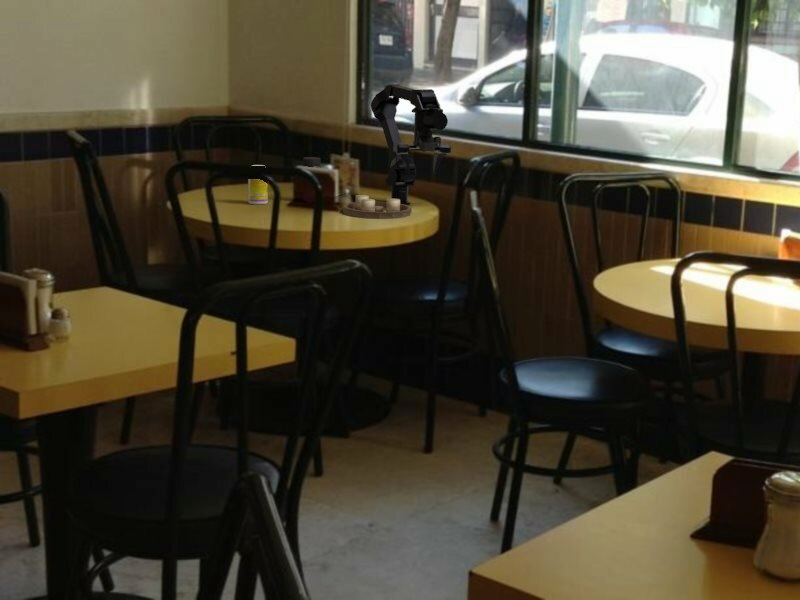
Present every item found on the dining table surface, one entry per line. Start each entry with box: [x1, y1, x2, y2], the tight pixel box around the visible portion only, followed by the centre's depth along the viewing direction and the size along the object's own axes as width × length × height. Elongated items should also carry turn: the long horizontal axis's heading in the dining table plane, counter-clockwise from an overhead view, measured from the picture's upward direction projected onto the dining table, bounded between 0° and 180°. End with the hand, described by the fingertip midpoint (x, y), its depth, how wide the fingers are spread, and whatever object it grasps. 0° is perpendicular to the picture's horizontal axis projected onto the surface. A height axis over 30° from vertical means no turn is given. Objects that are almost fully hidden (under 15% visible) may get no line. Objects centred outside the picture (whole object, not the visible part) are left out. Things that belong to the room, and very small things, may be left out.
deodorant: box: [302, 156, 322, 167], centre depth 444 cm, size 6×6×15 cm
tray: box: [342, 201, 413, 220], centre depth 422 cm, size 22×22×3 cm
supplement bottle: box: [247, 164, 269, 206], centre depth 437 cm, size 7×7×13 cm
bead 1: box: [361, 198, 376, 212], centre depth 416 cm, size 4×4×5 cm
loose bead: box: [354, 194, 370, 211], centre depth 424 cm, size 4×4×5 cm
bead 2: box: [386, 198, 400, 212], centre depth 418 cm, size 4×4×5 cm
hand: (421, 173), depth 435 cm, fingers open, 9 cm apart
